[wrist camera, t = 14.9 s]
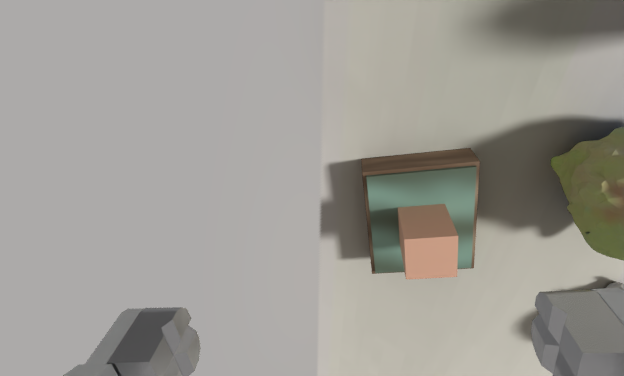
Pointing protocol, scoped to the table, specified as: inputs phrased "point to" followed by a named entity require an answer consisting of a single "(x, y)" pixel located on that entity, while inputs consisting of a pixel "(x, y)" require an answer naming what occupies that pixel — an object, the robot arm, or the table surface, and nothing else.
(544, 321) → the robot arm
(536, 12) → the table surface
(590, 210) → the earth globe model
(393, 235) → the green lidded wooden box
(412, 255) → the terracotta block
